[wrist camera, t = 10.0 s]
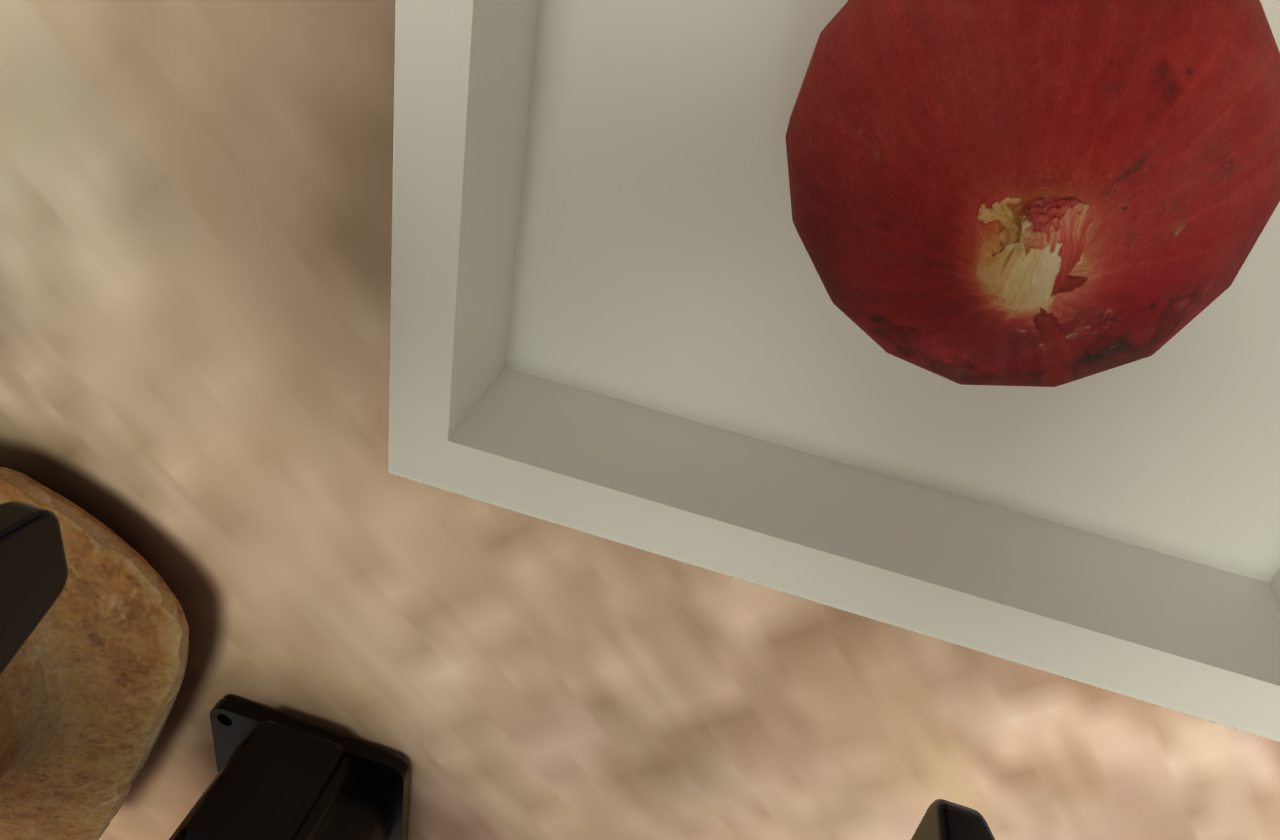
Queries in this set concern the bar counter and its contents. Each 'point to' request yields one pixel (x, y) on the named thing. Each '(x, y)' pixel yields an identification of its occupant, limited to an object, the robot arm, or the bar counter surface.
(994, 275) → the onion
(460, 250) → the tray
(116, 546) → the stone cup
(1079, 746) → the bar counter surface
